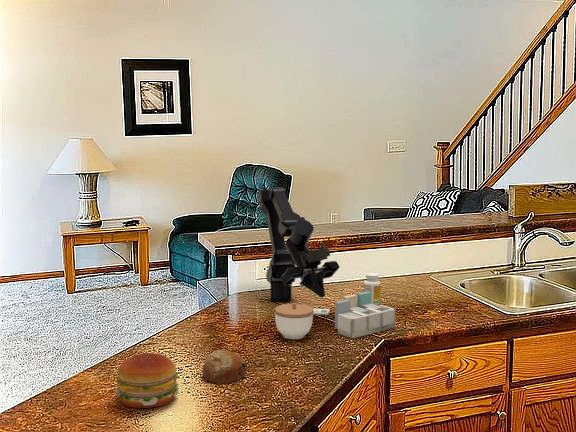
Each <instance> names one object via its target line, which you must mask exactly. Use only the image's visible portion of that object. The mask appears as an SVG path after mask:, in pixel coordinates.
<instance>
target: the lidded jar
mask: <svg viewBox="0 0 576 432" xmlns="http://www.w3.org/2000/svg"><path fill="white" fill-rule="evenodd" d="M313 309H314V308H313V306H310V305H307V304H301V303H296V302H292V303H285V304H280V305H278V306H276V307H275V308H274V317H275V318H274V319H275V321H274V322H275V325H276V328H277V330H278V332H279V333H280V334H281V335H282V337H283V338H284V339H288V340H300V339H303V338H305V336H306V335H307V334H308V333H309V332H310V330H311V328H312V325H313V321H314V314H313Z"/></svg>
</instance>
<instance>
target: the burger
mask: <svg viewBox="0 0 576 432" xmlns="http://www.w3.org/2000/svg"><path fill="white" fill-rule="evenodd" d="M116 370H117V371H116V375H117V377H116V380H115V383H116V384H117V387H116V388H115V392H114V393H115V396H116V397H118V398H119V400H120V401H121V403H122V404H123V405H125V406H128V407H130V408H137V409H147V408H148V409H149V408H157V407H159V406H164V405H165V404H168V403H170V402H171V401H172V400H173V398H174V397H175V396H178V395H179V385H178V383H177V379H178V378H179V374H178V371H177V366H176V364H175V363H174V361H172V359H170V358H169V357H168V356H166V355H163V354H160V353H155V352H152V353H151V352H144V353H143V352H142V353H139V354H134V355H132V356H130V357H128V358H126V359H125V360H124V361H122V363H121V364H120V365H119V367H118V368H117V369H116Z"/></svg>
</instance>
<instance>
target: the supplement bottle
mask: <svg viewBox="0 0 576 432" xmlns="http://www.w3.org/2000/svg"><path fill="white" fill-rule="evenodd" d="M365 279H366V280H364V281H363V292H371V304H374V305H377V306H379V305H381V281H379V274H378V273H377V272H376V273H375V272H370V273H366V275H365Z"/></svg>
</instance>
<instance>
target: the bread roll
mask: <svg viewBox="0 0 576 432" xmlns="http://www.w3.org/2000/svg"><path fill="white" fill-rule="evenodd" d="M246 366H247V365H246V362H245V361H244V358H242V357H240V355H239V354H236V353H234V352H233V351H230V350H226V349H225V350H223V349H217V350H215V351H214V352H212V353H210V354H209V355H208V356H207V358H206V359H205V360H204V365H203V367H202V376H203V378H204V379H205V381H207V382H210V383H215V384H225V383H233V382H237V381H239V380H241V379H243V377H244V376H245V374H246V370H247V368H246Z"/></svg>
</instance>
